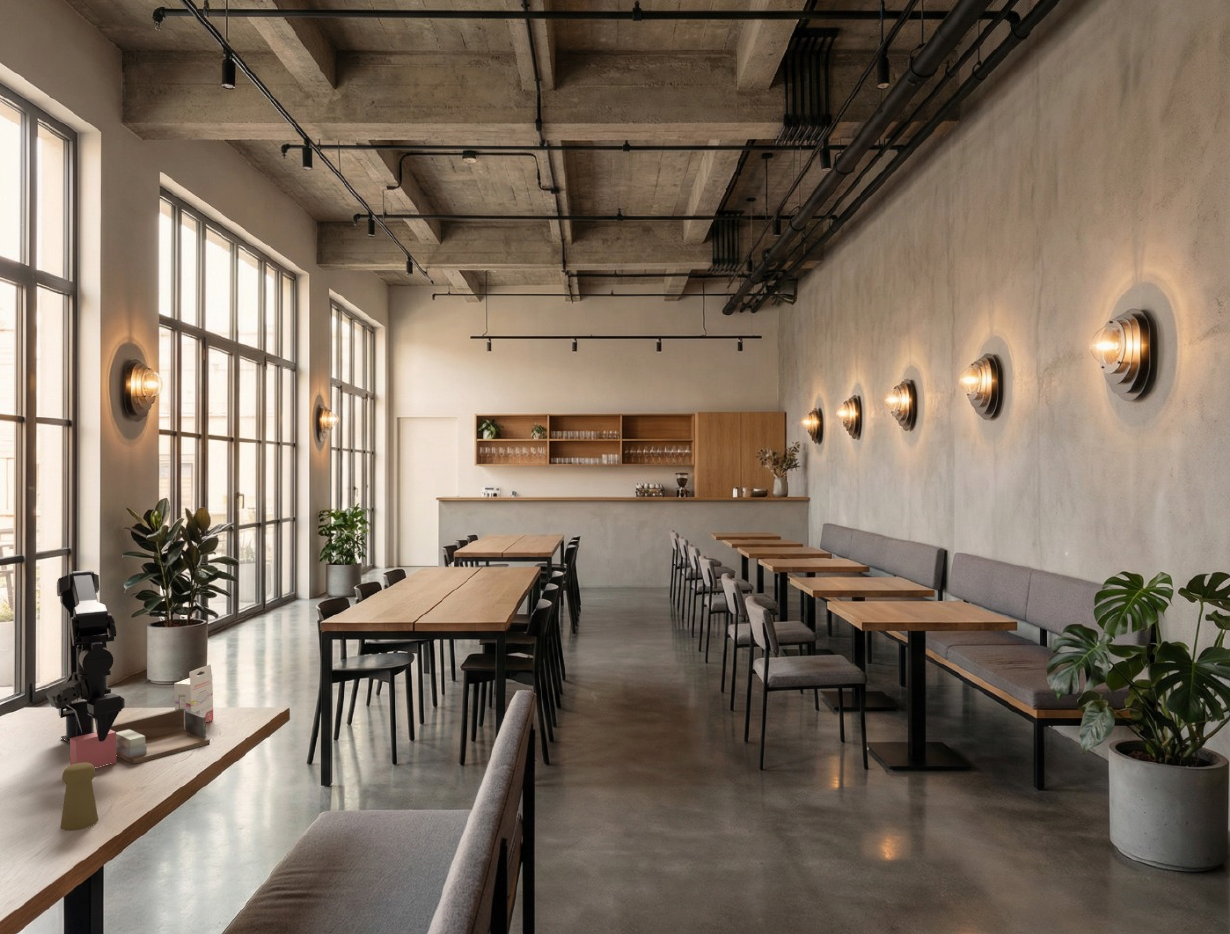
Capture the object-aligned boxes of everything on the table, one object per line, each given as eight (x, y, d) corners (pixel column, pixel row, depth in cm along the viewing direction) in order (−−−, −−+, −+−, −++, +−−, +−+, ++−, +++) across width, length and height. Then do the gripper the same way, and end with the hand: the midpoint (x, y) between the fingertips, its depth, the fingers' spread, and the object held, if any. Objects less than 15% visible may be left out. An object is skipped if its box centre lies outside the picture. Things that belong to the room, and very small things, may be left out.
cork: (71, 817, 162) (70, 759, 162) (104, 816, 163) (104, 758, 162) (53, 831, 156) (52, 771, 156) (88, 829, 157) (87, 769, 156)
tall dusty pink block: (70, 770, 187) (69, 738, 187) (109, 759, 194) (109, 729, 194) (76, 773, 185) (76, 741, 185) (116, 763, 192) (116, 732, 191)
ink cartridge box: (197, 719, 224) (196, 663, 223) (214, 720, 223) (213, 663, 222) (174, 729, 215) (173, 671, 215) (191, 730, 214) (190, 671, 214)
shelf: (107, 751, 199) (107, 725, 199) (181, 732, 212) (181, 708, 212) (134, 764, 190) (133, 737, 190) (209, 743, 204) (209, 718, 204)
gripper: (34, 668, 189) (35, 738, 189) (67, 680, 177) (69, 756, 177) (90, 658, 198) (91, 725, 198) (125, 670, 186) (126, 741, 186)
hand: (93, 737), depth 189 cm, fingers open, 9 cm apart
